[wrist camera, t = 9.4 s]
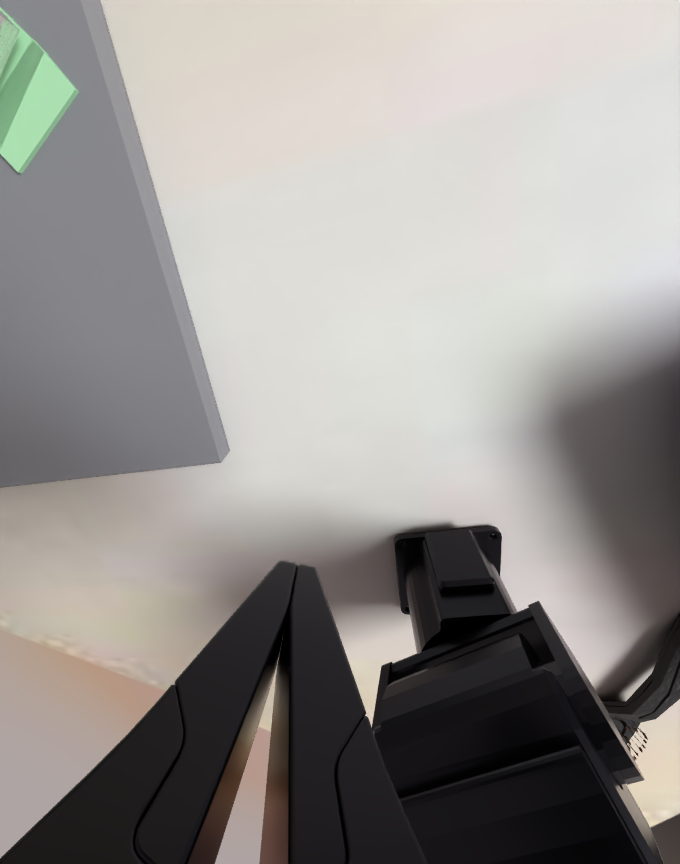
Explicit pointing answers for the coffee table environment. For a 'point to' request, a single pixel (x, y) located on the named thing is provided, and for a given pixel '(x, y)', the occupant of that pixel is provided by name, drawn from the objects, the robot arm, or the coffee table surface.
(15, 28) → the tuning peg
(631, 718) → the hairbrush
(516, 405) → the coffee table surface
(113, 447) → the grey flat panel
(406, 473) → the coffee table surface
